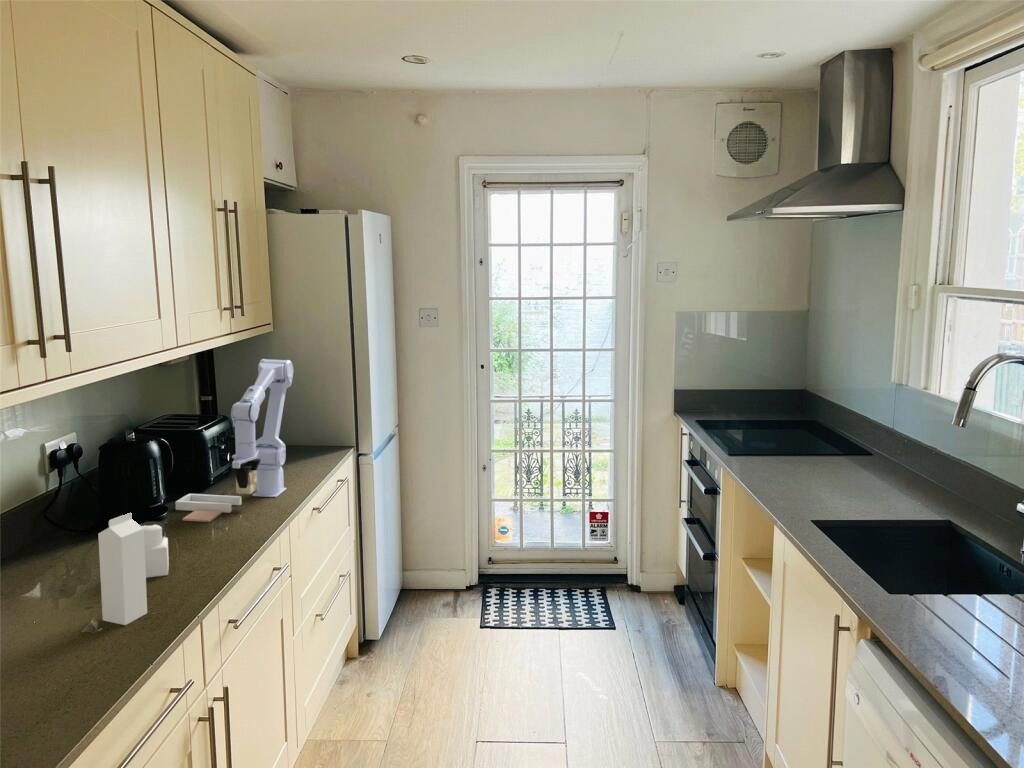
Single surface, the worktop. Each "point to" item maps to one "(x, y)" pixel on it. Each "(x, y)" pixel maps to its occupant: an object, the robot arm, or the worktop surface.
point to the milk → (122, 570)
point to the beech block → (250, 486)
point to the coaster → (202, 515)
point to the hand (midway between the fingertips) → (246, 485)
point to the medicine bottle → (155, 549)
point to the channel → (207, 502)
